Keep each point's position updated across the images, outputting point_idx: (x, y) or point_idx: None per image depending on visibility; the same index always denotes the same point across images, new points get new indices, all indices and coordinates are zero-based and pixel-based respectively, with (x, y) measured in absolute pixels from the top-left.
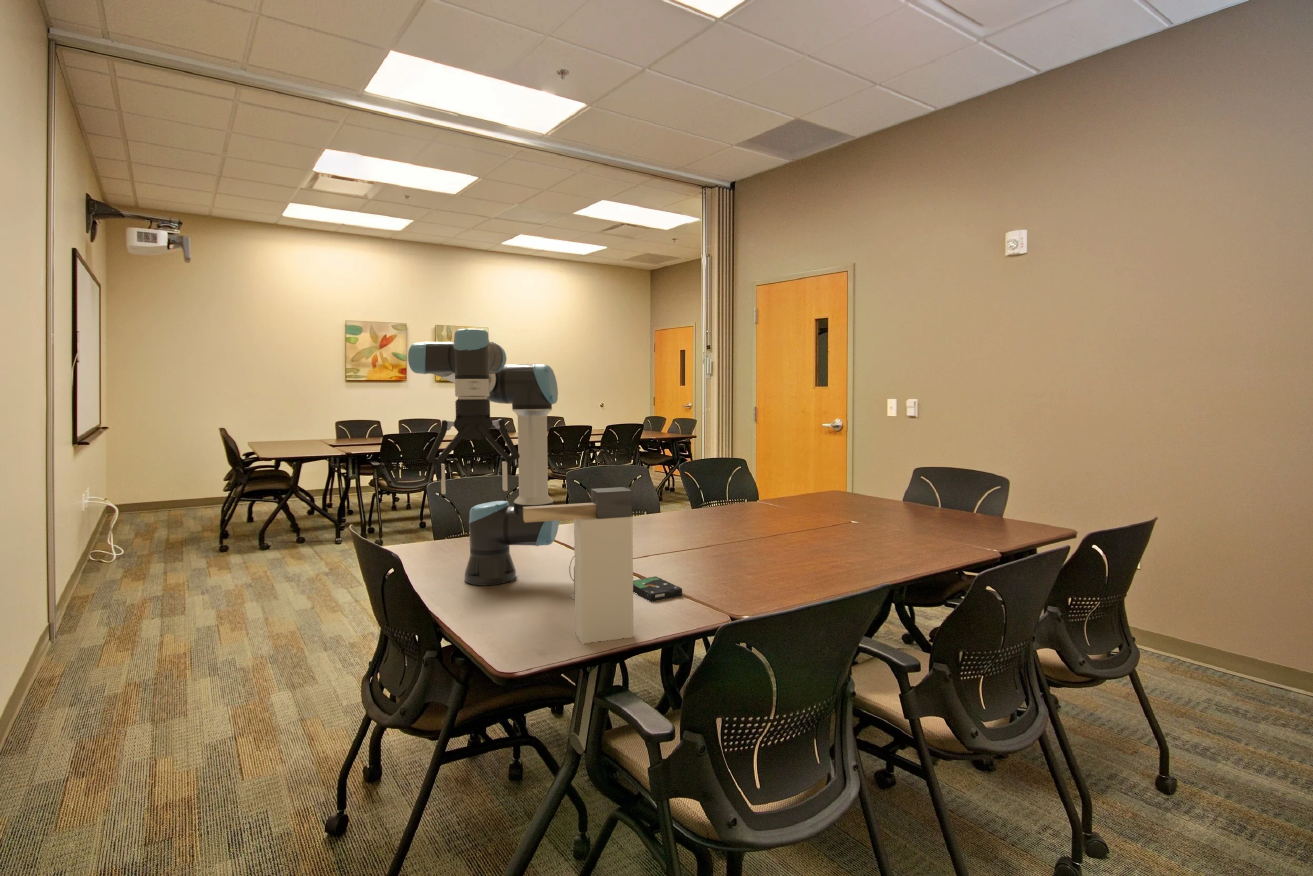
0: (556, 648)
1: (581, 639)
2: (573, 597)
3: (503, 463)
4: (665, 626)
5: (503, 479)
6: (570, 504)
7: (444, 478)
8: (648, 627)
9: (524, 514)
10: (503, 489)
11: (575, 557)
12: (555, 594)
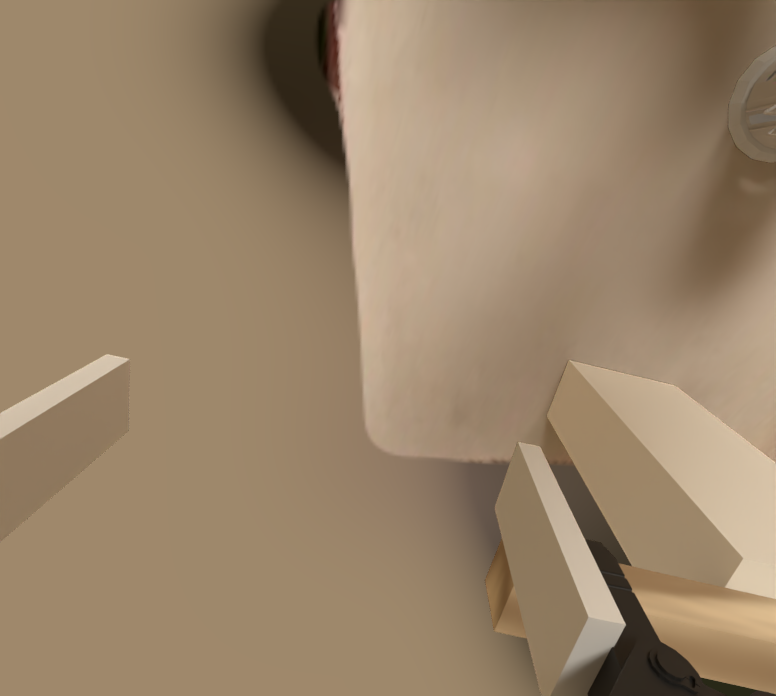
0: (493, 408)
1: (551, 412)
2: (736, 102)
3: (548, 684)
4: (746, 425)
5: (517, 540)
6: (732, 644)
7: (46, 496)
8: (714, 411)
9: (493, 598)
10: (506, 480)
11: (644, 465)
12: (724, 14)
